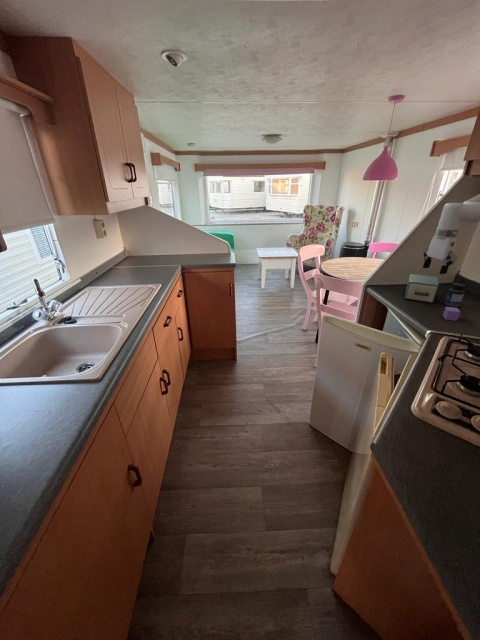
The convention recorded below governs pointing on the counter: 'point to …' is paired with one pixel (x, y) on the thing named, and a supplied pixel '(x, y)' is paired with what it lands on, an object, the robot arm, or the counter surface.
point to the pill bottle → (455, 295)
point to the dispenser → (422, 283)
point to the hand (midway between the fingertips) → (434, 270)
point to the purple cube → (451, 313)
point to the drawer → (421, 292)
